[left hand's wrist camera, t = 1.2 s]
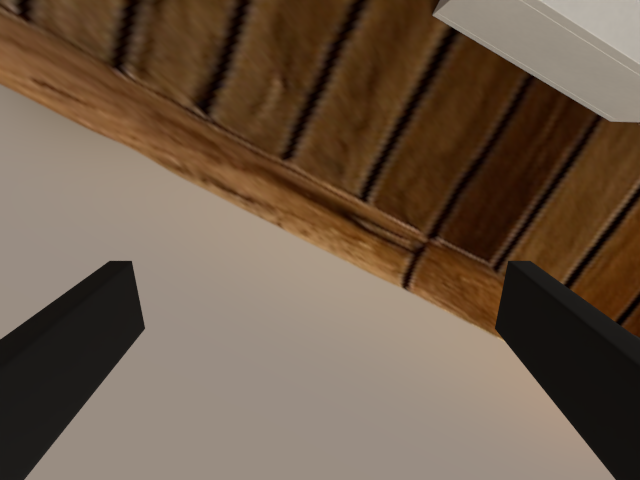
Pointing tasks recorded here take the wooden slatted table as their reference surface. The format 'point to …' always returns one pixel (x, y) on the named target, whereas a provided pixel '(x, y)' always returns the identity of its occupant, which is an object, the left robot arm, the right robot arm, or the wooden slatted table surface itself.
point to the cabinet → (563, 45)
